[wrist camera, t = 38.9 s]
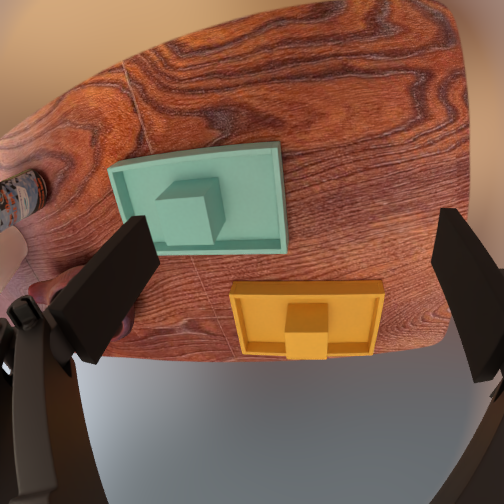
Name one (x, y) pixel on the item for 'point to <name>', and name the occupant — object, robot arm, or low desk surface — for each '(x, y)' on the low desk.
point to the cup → (11, 254)
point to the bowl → (51, 288)
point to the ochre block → (306, 331)
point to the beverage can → (21, 197)
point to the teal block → (191, 212)
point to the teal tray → (232, 191)
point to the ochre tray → (297, 292)
